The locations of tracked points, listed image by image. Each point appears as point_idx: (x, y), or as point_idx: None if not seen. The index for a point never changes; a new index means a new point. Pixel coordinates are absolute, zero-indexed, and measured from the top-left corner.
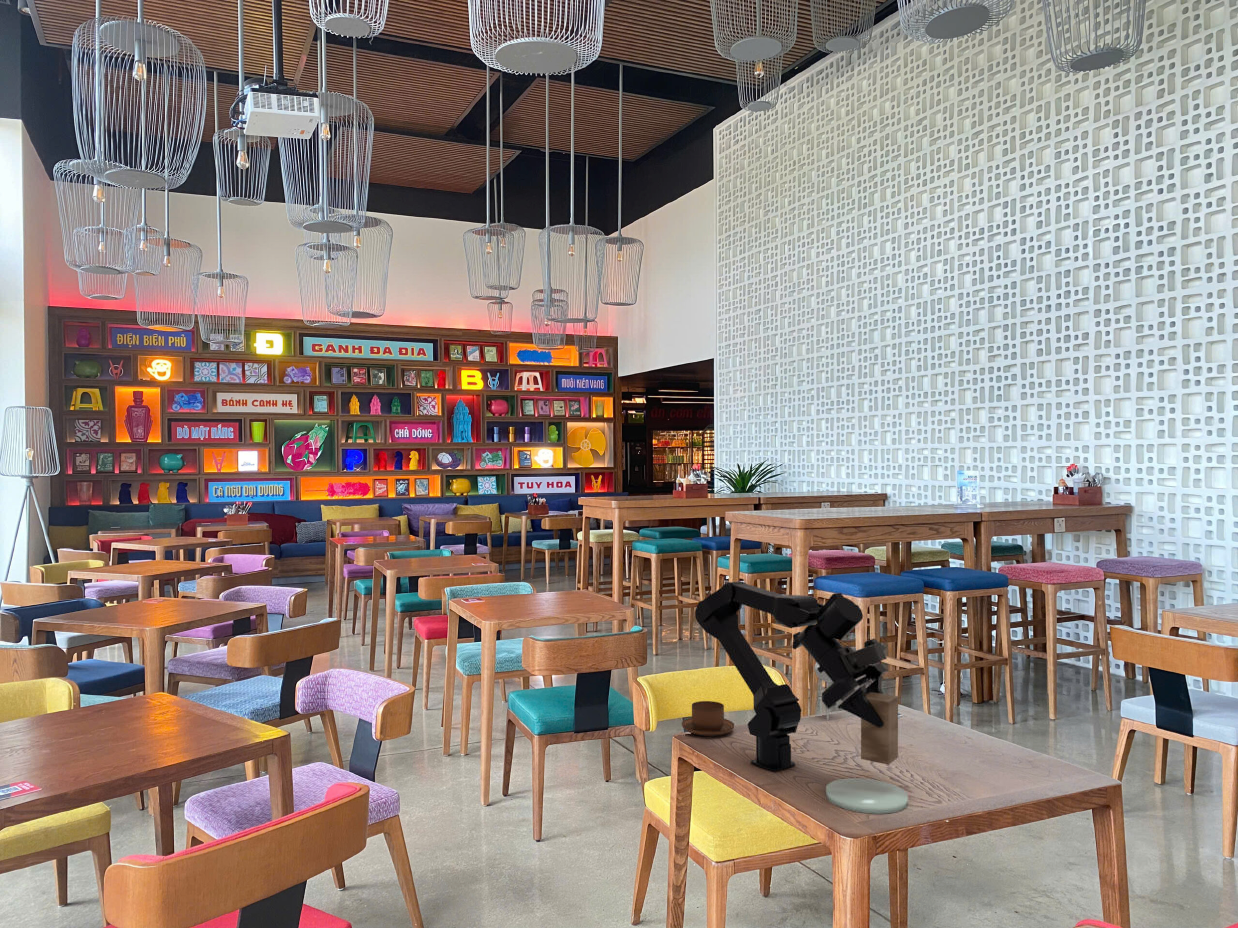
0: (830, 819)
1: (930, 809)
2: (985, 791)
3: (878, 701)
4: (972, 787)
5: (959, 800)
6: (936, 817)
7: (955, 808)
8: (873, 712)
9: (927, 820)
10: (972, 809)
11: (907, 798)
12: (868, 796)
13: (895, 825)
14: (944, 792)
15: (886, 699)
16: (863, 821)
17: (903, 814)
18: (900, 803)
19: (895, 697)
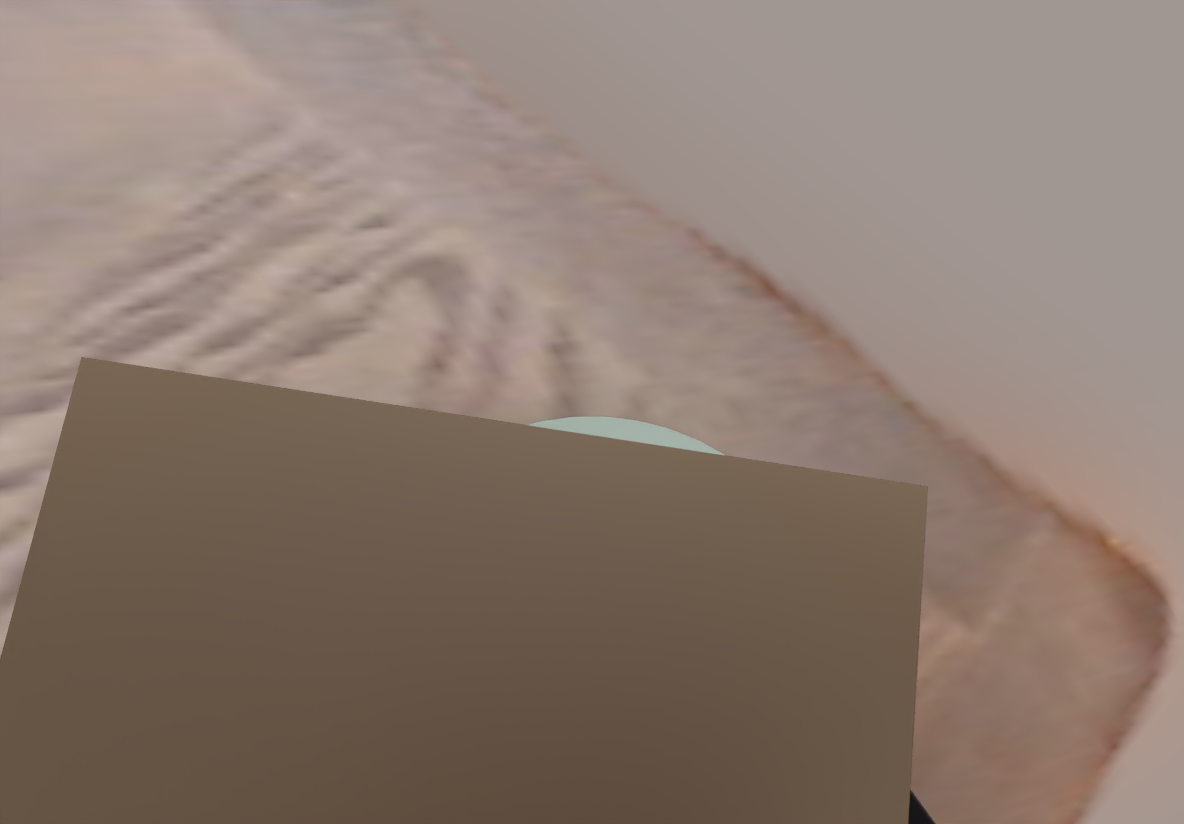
0: (1016, 773)
1: (583, 299)
2: (125, 46)
3: (885, 795)
4: (80, 114)
5: (358, 169)
6: (686, 258)
7: (501, 180)
8: (914, 801)
9: (752, 295)
10: (472, 100)
11: (581, 417)
12: None
13: (906, 433)
14: (254, 256)
15: (657, 609)
16: (944, 598)
17: (733, 420)
18: (694, 440)
19: (271, 407)
